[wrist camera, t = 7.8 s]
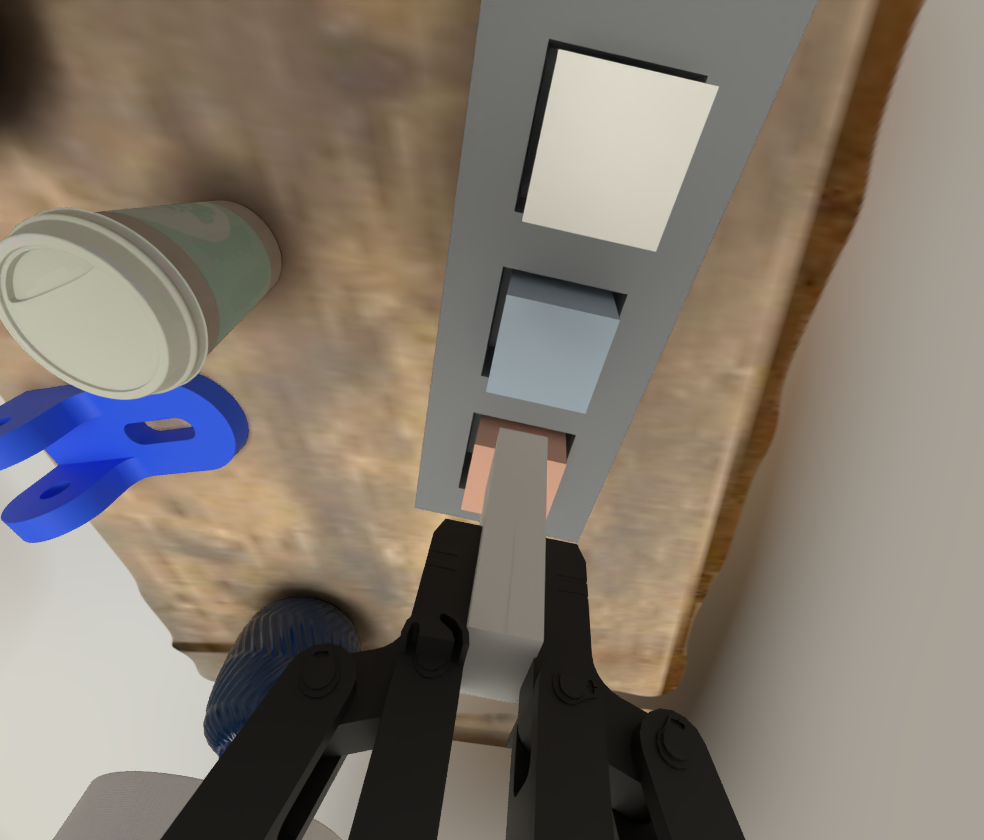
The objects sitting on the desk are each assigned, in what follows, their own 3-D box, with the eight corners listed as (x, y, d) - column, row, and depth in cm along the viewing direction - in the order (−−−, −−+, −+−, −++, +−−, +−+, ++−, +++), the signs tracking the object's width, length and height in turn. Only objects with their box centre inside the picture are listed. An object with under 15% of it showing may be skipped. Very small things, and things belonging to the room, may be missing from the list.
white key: (557, 57, 19) (558, 49, 15) (688, 88, 19) (719, 86, 15) (527, 200, 22) (521, 221, 18) (639, 226, 22) (656, 251, 19)
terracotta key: (484, 403, 31) (474, 444, 27) (565, 421, 31) (566, 464, 27) (470, 465, 34) (460, 509, 30) (544, 481, 34) (543, 527, 30)
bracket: (94, 468, 43) (-1, 545, 36) (27, 390, 39) (-97, 460, 31) (267, 449, 39) (201, 531, 32) (215, 361, 35) (125, 432, 28)
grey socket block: (504, -45, 21) (492, -80, 17) (767, 17, 21) (819, -2, 17) (429, 463, 38) (414, 507, 34) (574, 494, 38) (577, 542, 34)
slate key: (513, 266, 25) (506, 294, 22) (610, 288, 26) (620, 320, 22) (494, 354, 29) (485, 391, 25) (581, 373, 29) (585, 413, 25)
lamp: (441, 621, 50) (270, 1405, 20) (353, 684, 61) (152, 1268, 30) (267, 527, 45) (-328, 1417, 15) (202, 614, 55) (-228, 1244, 25)
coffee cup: (302, 194, 27) (161, 249, 18) (304, 327, 32) (194, 428, 23) (156, 157, 27) (-71, 191, 17) (180, 296, 32) (15, 385, 22)
